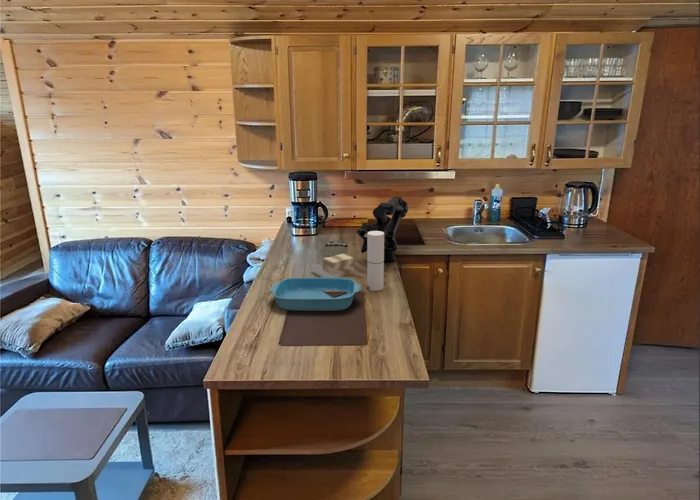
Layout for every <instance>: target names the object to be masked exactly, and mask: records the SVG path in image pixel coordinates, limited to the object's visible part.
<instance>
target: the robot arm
mask: <svg viewBox="0 0 700 500" xmlns="http://www.w3.org/2000/svg"><path fill="white" fill-rule="evenodd" d="M408 205H409V204H408V203H407V202H406V201H405V200H404V199H403V197H402V196H392V198H390V199H389V200H388V201H386V202H380V203H379V204H378V206H377V207H375V208H374V209H373V211H372V215H373V217H374V220H375V223H370V224H368V223H366V222H362V224H361V227H360V229H357V231H356V232H355V233H356V234H357V235H358V237H360V238H361V239H363V244H362V246H361V249H360V252H361V253H362V254H365V253H366V252H367V233H368V232H370V231H382V232H384V264H389V263H394V262H397V259H396V258H395V251H397V250H398V244H397V241H396V235H395V234H396V233H397V230H398V227H399V226H400V222H401V220H402V219H403V218H405V217H406V215H407V213H408V212H409V206H408ZM389 216H391V217H389Z"/></svg>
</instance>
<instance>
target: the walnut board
mask: <svg viewBox="0 0 700 500" xmlns="http://www.w3.org/2000/svg"><path fill="white" fill-rule="evenodd" d="M385 272H386V271H385V270H384V273H385ZM311 274H312V275H315V276H316V277H320V276H318V275H316V274H314V273H312V271H311ZM341 278H349V279H353V280H354V281H356V280H359V279H363V278H367V262H365V261H363V260H361V259H360V260H354V274H352V275H349V276H345V277H341Z"/></svg>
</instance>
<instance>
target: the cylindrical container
mask: <svg viewBox="0 0 700 500" xmlns="http://www.w3.org/2000/svg"><path fill="white" fill-rule="evenodd" d="M366 252H367V253H366V254H367V258H366V259H367V262H366V263H367V277H366V279H367V280H366V281H367V282H366V283H367V284H366V285H367V289H368V290H369V291H374V292H379V291H382V290H383V289H384V283H385V282H384V279H385V272H384V271H385V263H384V232H382V231H370V232H368V233H367V251H366Z"/></svg>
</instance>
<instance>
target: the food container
mask: <svg viewBox="0 0 700 500" xmlns="http://www.w3.org/2000/svg"><path fill="white" fill-rule="evenodd" d="M324 248H325V252H326V258H327V257H331V256H335V255H339V254H346V255H348V249H349V248H350V247H349V244H348V242H347V241H344V240H338V239H337V240H329V241H326V242H325V243H324Z"/></svg>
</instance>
